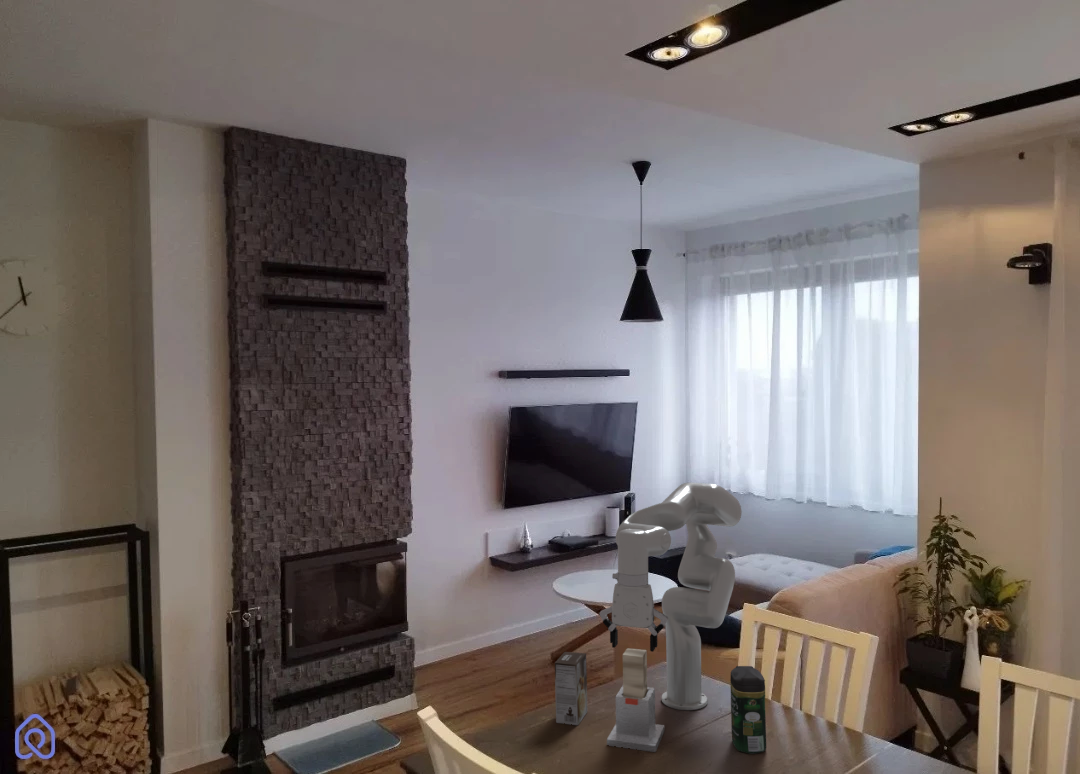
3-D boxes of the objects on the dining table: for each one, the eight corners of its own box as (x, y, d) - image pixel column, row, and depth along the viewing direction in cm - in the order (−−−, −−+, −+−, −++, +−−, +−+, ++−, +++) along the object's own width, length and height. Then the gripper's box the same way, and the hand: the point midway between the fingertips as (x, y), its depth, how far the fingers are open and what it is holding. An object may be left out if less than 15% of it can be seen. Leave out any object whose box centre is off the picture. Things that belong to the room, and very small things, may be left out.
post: (628, 726, 198) (627, 648, 198) (648, 729, 196) (646, 650, 196) (624, 735, 193) (622, 654, 193) (643, 737, 191) (642, 656, 191)
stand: (618, 725, 202) (617, 681, 202) (664, 731, 198) (663, 686, 198) (606, 745, 191) (606, 698, 191) (655, 752, 187) (654, 704, 187)
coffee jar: (728, 736, 194) (727, 662, 194) (760, 737, 194) (759, 662, 194) (735, 755, 185) (734, 677, 185) (769, 755, 184) (768, 677, 184)
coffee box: (565, 709, 213) (564, 650, 213) (588, 712, 211) (587, 652, 211) (555, 723, 204) (554, 662, 204) (578, 726, 202) (577, 664, 202)
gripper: (595, 580, 194) (596, 649, 194) (664, 585, 188) (665, 656, 188) (603, 573, 201) (603, 640, 201) (670, 578, 195) (670, 646, 195)
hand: (633, 648), depth 194 cm, fingers open, 9 cm apart
